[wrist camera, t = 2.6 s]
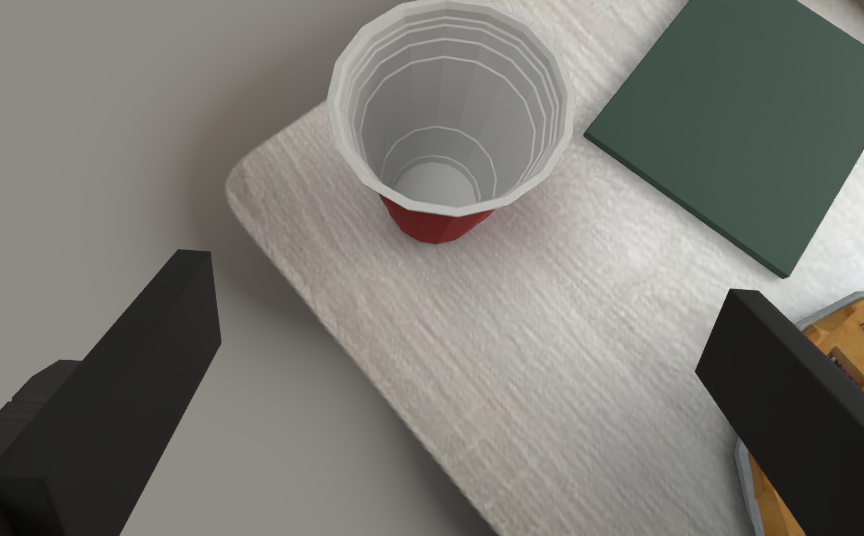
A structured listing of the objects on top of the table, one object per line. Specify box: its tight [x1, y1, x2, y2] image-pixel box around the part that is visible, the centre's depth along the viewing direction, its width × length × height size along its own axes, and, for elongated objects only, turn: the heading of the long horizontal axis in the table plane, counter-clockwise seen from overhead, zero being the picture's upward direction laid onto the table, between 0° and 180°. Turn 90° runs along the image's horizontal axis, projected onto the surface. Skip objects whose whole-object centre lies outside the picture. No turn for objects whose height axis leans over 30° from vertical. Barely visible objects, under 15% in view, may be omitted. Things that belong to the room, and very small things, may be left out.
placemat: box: [584, 0, 864, 279], centre depth 38 cm, size 16×20×1 cm
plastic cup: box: [326, 0, 576, 243], centre depth 29 cm, size 11×11×12 cm
